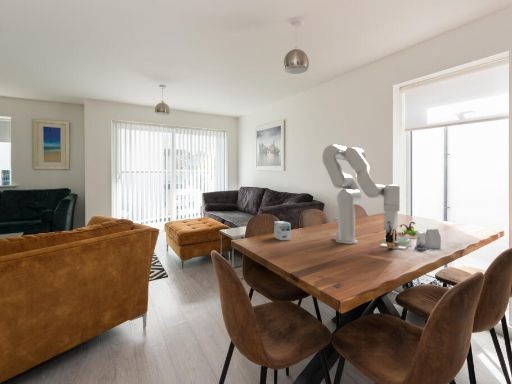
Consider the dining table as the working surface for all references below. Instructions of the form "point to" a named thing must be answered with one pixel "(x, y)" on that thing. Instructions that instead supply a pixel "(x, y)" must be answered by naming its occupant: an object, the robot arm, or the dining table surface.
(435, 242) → the grey white box
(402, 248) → the dock
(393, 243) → the pin
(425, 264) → the dining table surface
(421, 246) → the grey rounded piece
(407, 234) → the plant
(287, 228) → the light bulb box
